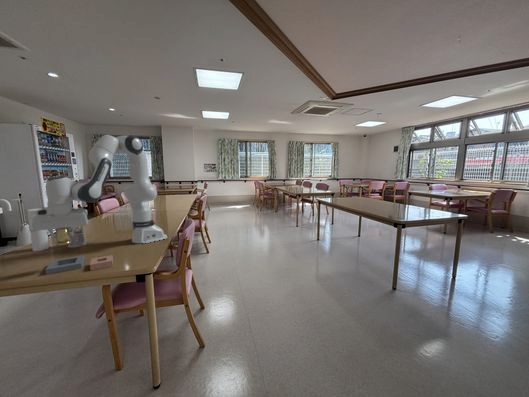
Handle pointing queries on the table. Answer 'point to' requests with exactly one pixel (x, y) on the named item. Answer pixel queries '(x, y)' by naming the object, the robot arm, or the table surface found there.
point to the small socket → (101, 262)
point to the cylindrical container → (37, 234)
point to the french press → (77, 234)
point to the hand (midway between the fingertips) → (63, 236)
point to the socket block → (75, 264)
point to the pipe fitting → (62, 236)
